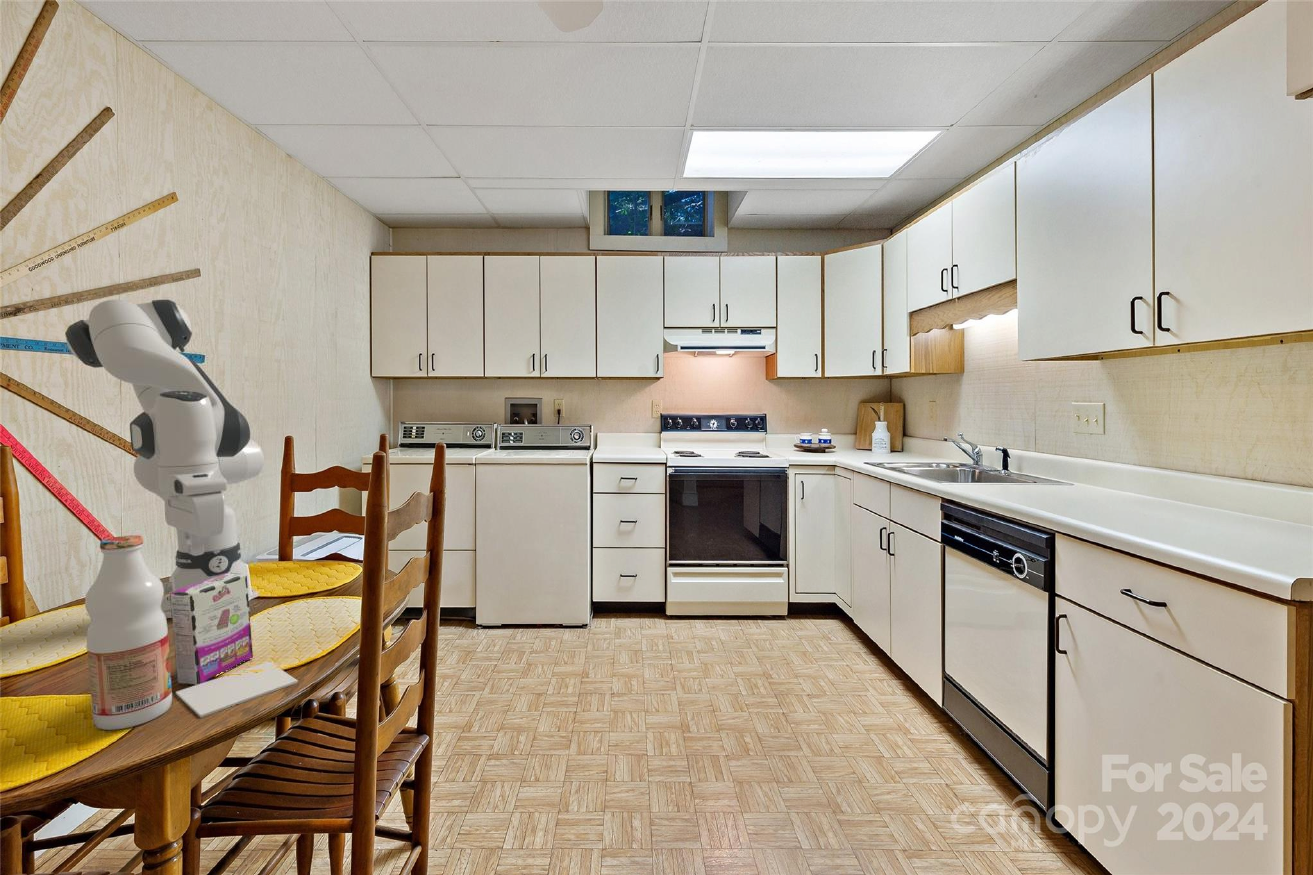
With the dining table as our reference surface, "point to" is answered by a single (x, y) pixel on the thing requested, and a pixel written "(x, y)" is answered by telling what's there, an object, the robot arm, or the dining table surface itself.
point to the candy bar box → (211, 627)
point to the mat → (235, 689)
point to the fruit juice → (127, 639)
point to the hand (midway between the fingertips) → (195, 554)
